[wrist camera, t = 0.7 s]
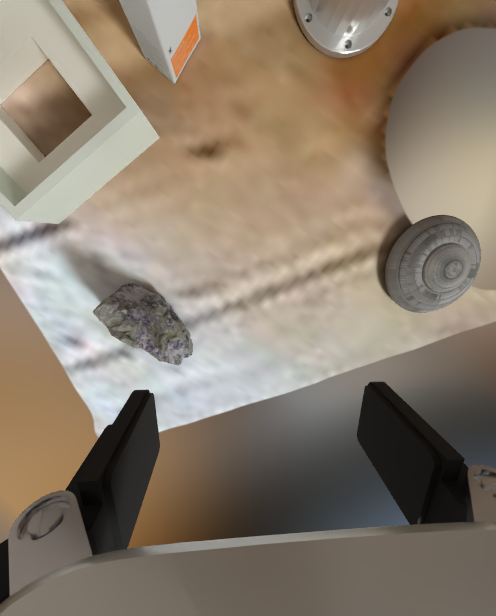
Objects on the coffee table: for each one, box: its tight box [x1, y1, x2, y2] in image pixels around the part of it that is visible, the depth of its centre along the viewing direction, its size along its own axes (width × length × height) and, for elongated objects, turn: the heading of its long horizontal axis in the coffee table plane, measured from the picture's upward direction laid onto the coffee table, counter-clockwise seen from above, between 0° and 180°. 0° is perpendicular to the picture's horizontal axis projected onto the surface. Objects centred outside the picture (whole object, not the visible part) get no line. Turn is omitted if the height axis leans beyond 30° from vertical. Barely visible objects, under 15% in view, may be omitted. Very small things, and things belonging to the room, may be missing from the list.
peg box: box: [0, 0, 160, 224], centre depth 27 cm, size 18×18×7 cm
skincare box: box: [119, 0, 201, 84], centre depth 23 cm, size 6×4×12 cm
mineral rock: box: [93, 284, 193, 365], centre depth 33 cm, size 13×11×10 cm
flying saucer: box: [385, 215, 481, 313], centre depth 37 cm, size 15×15×6 cm
